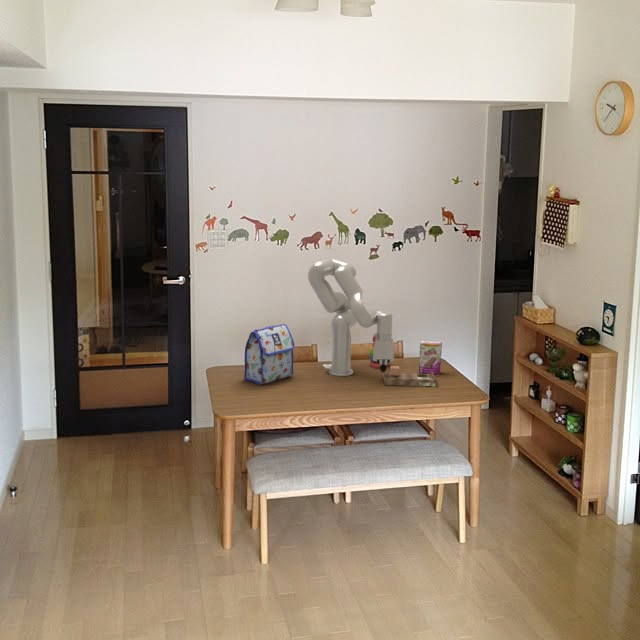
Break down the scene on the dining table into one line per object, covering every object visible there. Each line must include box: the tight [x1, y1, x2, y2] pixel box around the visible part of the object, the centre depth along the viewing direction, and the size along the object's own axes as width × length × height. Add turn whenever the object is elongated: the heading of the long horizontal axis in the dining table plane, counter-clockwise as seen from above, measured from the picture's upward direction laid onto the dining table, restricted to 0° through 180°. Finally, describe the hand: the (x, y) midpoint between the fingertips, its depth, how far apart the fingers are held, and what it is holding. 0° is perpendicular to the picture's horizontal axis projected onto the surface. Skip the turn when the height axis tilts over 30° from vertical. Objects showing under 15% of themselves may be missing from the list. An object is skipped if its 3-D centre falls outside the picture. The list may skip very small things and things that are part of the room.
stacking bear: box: [368, 334, 391, 369], centre depth 452 cm, size 11×10×18 cm
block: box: [389, 365, 400, 376], centre depth 429 cm, size 4×4×4 cm
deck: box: [382, 371, 437, 388], centre depth 426 cm, size 25×15×4 cm, turn 89°
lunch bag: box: [243, 323, 295, 386], centre depth 424 cm, size 23×17×27 cm
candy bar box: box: [418, 340, 443, 375], centre depth 440 cm, size 11×5×16 cm, turn 84°
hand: (383, 371), depth 430 cm, fingers closed
